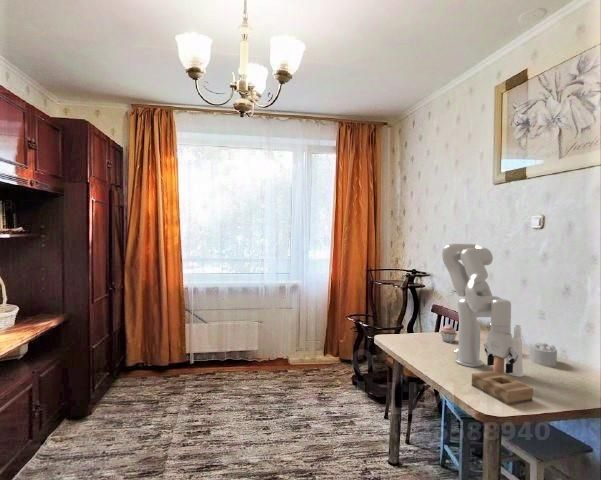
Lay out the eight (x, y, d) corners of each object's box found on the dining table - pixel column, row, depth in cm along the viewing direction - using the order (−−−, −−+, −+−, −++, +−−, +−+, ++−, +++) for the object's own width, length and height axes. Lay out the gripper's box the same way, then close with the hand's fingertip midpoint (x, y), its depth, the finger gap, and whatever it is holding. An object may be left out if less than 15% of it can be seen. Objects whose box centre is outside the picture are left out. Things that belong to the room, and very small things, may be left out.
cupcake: (436, 338, 225) (437, 321, 225) (451, 338, 226) (452, 321, 226) (444, 343, 216) (444, 325, 215) (460, 343, 217) (460, 325, 216)
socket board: (471, 385, 157) (471, 373, 157) (494, 382, 161) (495, 370, 161) (507, 405, 140) (508, 391, 140) (532, 401, 144) (533, 388, 143)
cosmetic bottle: (509, 370, 175) (511, 323, 174) (524, 374, 171) (526, 325, 170) (506, 374, 170) (508, 325, 170) (522, 378, 166) (524, 327, 166)
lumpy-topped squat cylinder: (549, 358, 193) (549, 341, 193) (561, 367, 180) (562, 349, 180) (526, 357, 195) (527, 340, 195) (537, 366, 182) (538, 348, 182)
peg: (490, 379, 164) (491, 352, 164) (498, 378, 165) (499, 351, 165) (498, 383, 160) (499, 355, 160) (505, 382, 161) (506, 354, 161)
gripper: (478, 324, 169) (477, 363, 169) (510, 334, 152) (509, 377, 152) (491, 323, 171) (490, 361, 171) (525, 333, 155) (524, 375, 155)
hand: (499, 369), depth 162 cm, fingers open, 9 cm apart
